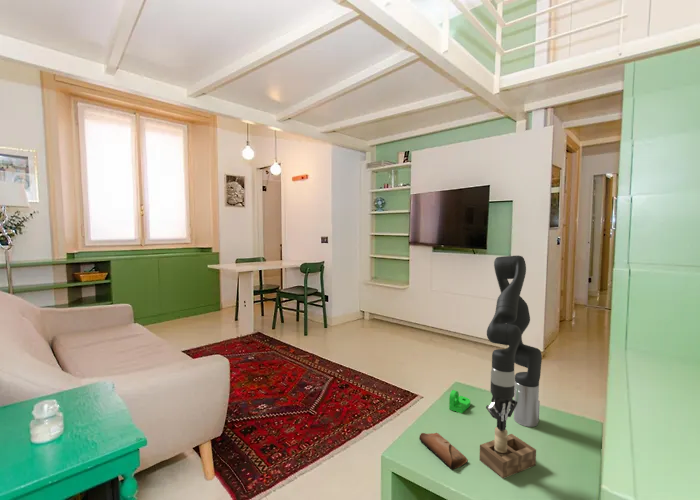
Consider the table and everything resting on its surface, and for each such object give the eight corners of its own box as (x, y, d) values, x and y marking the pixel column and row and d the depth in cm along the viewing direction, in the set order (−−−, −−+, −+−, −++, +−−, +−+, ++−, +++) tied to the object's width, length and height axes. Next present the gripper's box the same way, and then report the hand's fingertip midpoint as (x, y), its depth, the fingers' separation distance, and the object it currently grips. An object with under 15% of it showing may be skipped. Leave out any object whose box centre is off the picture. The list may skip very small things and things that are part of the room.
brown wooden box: (511, 449, 125) (511, 433, 124) (535, 466, 115) (536, 449, 115) (479, 461, 118) (479, 444, 118) (502, 480, 109) (503, 462, 109)
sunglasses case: (470, 459, 116) (461, 449, 114) (458, 476, 114) (449, 466, 112) (435, 431, 133) (427, 422, 130) (424, 446, 130) (416, 436, 128)
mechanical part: (461, 413, 149) (462, 396, 148) (449, 409, 153) (449, 392, 153) (472, 403, 158) (472, 387, 157) (460, 399, 162) (460, 383, 161)
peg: (499, 458, 118) (500, 425, 117) (509, 465, 114) (510, 432, 114) (491, 461, 116) (492, 428, 116) (500, 469, 113) (501, 435, 112)
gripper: (507, 373, 120) (505, 419, 121) (479, 380, 114) (478, 428, 115) (525, 381, 113) (524, 430, 114) (497, 389, 107) (496, 440, 108)
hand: (501, 429), depth 114 cm, fingers closed
